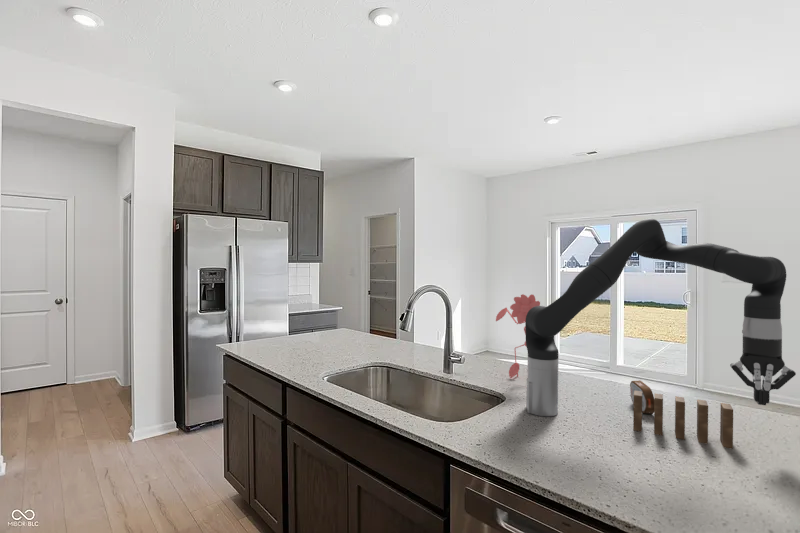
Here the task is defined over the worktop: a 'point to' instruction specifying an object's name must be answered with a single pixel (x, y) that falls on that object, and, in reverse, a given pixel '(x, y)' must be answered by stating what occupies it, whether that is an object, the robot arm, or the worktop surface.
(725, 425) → the end tile
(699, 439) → the tile
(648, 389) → the tin
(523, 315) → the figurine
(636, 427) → the tile
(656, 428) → the tile
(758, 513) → the worktop surface
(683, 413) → the tile
